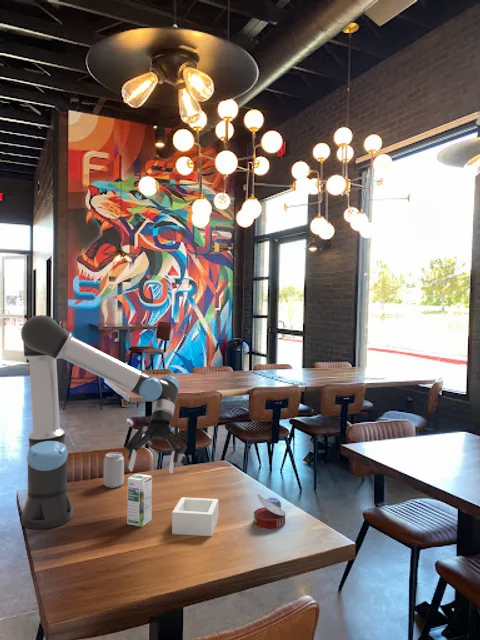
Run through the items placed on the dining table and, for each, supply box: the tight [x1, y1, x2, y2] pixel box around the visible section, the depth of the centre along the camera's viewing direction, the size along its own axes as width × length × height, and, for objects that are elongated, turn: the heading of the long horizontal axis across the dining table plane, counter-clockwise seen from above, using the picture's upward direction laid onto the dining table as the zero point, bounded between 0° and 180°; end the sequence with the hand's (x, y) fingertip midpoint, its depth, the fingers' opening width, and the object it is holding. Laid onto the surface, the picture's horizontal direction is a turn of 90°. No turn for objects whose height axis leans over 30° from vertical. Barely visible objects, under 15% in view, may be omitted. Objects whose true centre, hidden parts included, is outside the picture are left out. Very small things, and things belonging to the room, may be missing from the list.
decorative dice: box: [266, 497, 282, 510], centre depth 164 cm, size 4×4×4 cm
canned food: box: [253, 493, 286, 530], centre depth 155 cm, size 11×10×10 cm
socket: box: [171, 496, 219, 537], centre depth 151 cm, size 12×12×6 cm
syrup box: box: [126, 473, 153, 528], centre depth 154 cm, size 6×6×14 cm
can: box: [103, 451, 125, 489], centre depth 187 cm, size 8×8×12 cm
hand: (150, 470), depth 161 cm, fingers open, 13 cm apart
